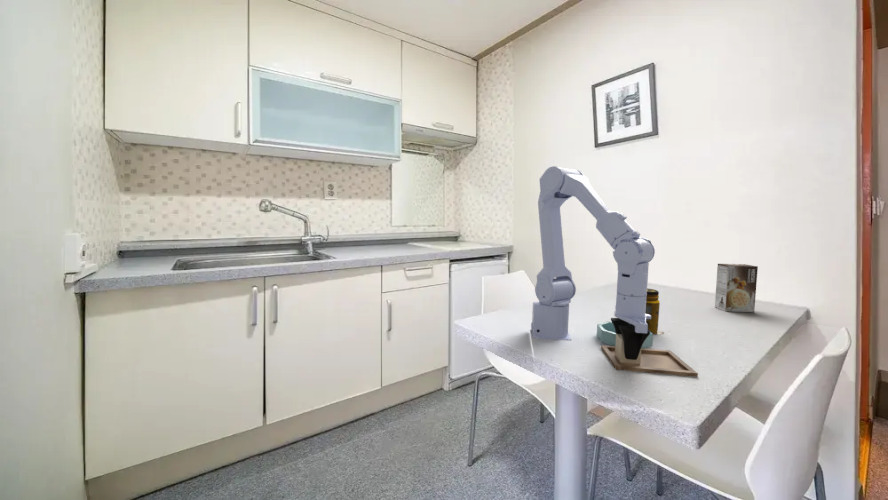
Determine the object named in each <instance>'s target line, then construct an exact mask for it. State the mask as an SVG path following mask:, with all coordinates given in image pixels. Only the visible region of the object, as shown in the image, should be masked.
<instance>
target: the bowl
mask: <svg viewBox="0 0 888 500" xmlns="http://www.w3.org/2000/svg"><path fill="white" fill-rule="evenodd" d="M596 325H597V328H596V336H597V338H598V339H599V341H600V342H601V343H604V344H607V345H608V346H615V344H616V332H615V328H614V326H613V323H612V321H605V322H601V323H597V324H596ZM653 335H654V334H653V333H651V332H650V335H649V336H648V337H647V338H646V339H645V341H644V343H643V345H642V348H644V349H648V348H650V347H653V339H654V336H653Z"/></svg>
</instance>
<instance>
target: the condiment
mask: <svg viewBox="0 0 888 500" xmlns="http://www.w3.org/2000/svg"><path fill="white" fill-rule="evenodd" d="M659 294H660V293H659V291H658V290H657V289H653V288H648V287H647V297H646V312H645V314H649V315H651V319H646V323H647V324H648V329H649V330H650V332H651V333H653V335H663V334H664V333H665V332H664V331H663V332H662V331H659V317H660V305H661V304H660V302H661V301H660V300H659Z"/></svg>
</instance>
